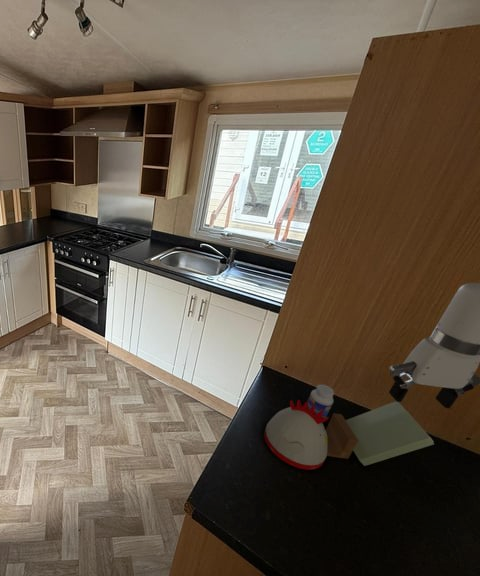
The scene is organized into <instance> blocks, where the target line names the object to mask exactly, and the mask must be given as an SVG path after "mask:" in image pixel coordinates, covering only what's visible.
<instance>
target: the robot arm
mask: <svg viewBox="0 0 480 576" xmlns="http://www.w3.org/2000/svg"><path fill="white" fill-rule="evenodd" d="M479 366H480V282H467V283H465V284H462V285H461V286H460V287H459V288H458V289H457V291H456V292H455V294H454V296H453V297H452V299H451V301H450V302H449V304H448V305H447V308H446V309H445V311H444V312H443V314H442V315H441V317H440V319H439V321H438V323H437V324H436V326H435V327H434V329H433V331H432V333H431V334H430V336H429V337H424V338H423V339H422V340H421V341H420V342H419V343H418V344H417V345H416V346H415V347H414V348H413V349H412V350H411V351H410V353H409V354H408V356H407V357H406V359H405V360H404V361H403V363H400V364H395V365H391V366H389V376H390V377H391V378H392V380H393V381H394V383H393V384H392V386H391V387H390V389H389V391H388V393H389V395H390V396H391V397H392V398H393V399H394V400H395V401H397V402H399V403H402V401H403V400H404V398H405V396H406V395H407V393H408V392H409V389H408V388H410V387H412V386H414V385H416V384H417V385H422V386H429V387H437V388H441V389H440V391H439V392H438V393H437V395H436V396H435V400H436V401H437V402H438V403H439V404H440V405H442V407H444V409H451V407H452V406H453V405H454V403H455V402H456V400H457V399H458V398H459V397H461V396H464V395H465V393H466V392H469V391H471V390H474V389H475V387H477V386H479V385H480V376H478V375H477V374H475V373H476V371H477V369H478V368H479ZM407 378H408V380H405V379H407ZM404 380H405V381H404Z"/></svg>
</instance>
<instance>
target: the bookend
mask: <svg viewBox="0 0 480 576" xmlns="http://www.w3.org/2000/svg"><path fill="white" fill-rule="evenodd" d="M345 420H346V419H345V417H344V416H343V415H342V414H341V413H332V415H331V418H330V420H329V421H328V424H327V426H326V427H325V431H326V433H327V440H328V442H327V456H326V457H331V458H339V459H344V460H345V459H346V460H349V459H350V456H351V455H352V454H353V452H354V451H353V449H354V448H355V446H356V444H357V442H358V439H357V437H356V436H355V434H354V433H353V431H352V430H351V428H350V427H349V425H348V424H347V422H346V421H345Z"/></svg>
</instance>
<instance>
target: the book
mask: <svg viewBox="0 0 480 576" xmlns="http://www.w3.org/2000/svg"><path fill="white" fill-rule="evenodd" d="M345 421H346V422H347V424H348V425H349V427H350V428H351V430H352V431H353V433H354V434H355V436H356V437H357V439H358V442H357V444H356V446H355V448H354V449H353V451H352V452H353V453H354V454H355V456H356V457H357V459H358V461H359V462H360V463H361V464H362V466H364V467H366V466H369V465H372V464H375V463H379V462H382V461H385V460H389V459H391V458H396V457H398V456H401V455H405V454H407V453H411V452H414V451H417V450H421V449H424V448H427V447H430V446H434V445H435V443H434V440H433V439H432V437H431V436H429V434H428V433H427V432H426V431H425V429H424V428H423V427H422V426H421V425H420V424H419V423H418V422H417V420H415V419H414V417H413V416H412V415H411V414H410V412H409V411H407V410H406V408H404V406H403V405H402V404H401V402H397V401H396V400H395V401H392V402H389V403H387V404H385V405H382V406H380V407H377V408H374V409H372V410H369V411H366V412H364V413H361V414H358V415H356V416H354V417H350V418H348V419H345Z"/></svg>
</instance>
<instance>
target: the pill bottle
mask: <svg viewBox="0 0 480 576" xmlns="http://www.w3.org/2000/svg"><path fill="white" fill-rule="evenodd" d="M334 394H335V391H334V389H333V388H331V387H330V386H328V385H325V384H318V385H317V386H316V388H315V389H313V390H311V392H310V394H309V397H308V398H307V400H308V409H311V407H312V406H313V405H314V404H315V413H318V412H319V411H321V410H322V409H323V413H322V417H323V418H325V417H328V414H329V413H330V410H331V409H332V406H333V404H334V401H335V400H334Z"/></svg>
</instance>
